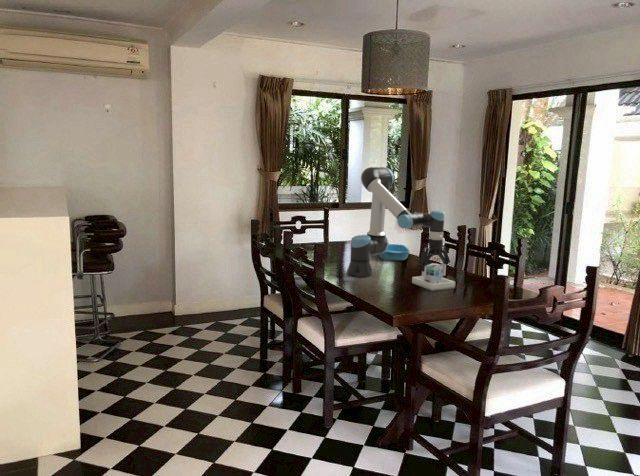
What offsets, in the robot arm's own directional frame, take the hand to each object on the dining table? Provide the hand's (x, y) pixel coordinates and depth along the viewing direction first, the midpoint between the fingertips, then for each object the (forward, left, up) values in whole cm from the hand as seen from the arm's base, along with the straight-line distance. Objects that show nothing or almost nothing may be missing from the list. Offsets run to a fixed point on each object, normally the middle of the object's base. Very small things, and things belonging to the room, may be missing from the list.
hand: (433, 276), depth 284 cm
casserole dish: (+24, +78, -6) cm, 82 cm away
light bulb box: (0, 0, -5) cm, 5 cm away
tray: (0, 0, -5) cm, 5 cm away
